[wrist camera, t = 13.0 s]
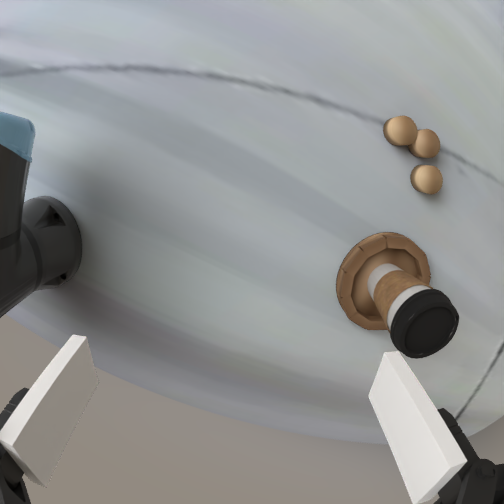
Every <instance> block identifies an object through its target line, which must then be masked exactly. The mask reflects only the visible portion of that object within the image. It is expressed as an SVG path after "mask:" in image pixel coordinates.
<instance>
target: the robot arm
mask: <svg viewBox="0 0 504 504" xmlns="http://www.w3.org/2000/svg"><path fill="white" fill-rule="evenodd" d="M34 138H35V128H34V125H33V123H32V122H31V121H30V120H28V119H25V118H22V117H18V116H15V115H11V114H8V113H4V112H0V318H1V317H2V316H3V315H4V314H6V313H7V312H8V311H9V310H11V309H12V308H13V307H14V306H16V305H17V304H18V303H19V302H21V301H22V300H23V299H25V298H26V297H27V296H28V295H30V294H31V293H32V292H34V291H37V290H43V289H49V288H55V287H58V286H60V285H62V284H64V283H65V282H67V281H68V280H69V279H71V278H72V277H73V276H74V274H75V273H76V271H77V269H78V267H79V264H80V261H81V255H82V244H81V237H80V232H79V229H78V226H77V224H76V222H75V219H74V218H73V216H72V214H71V213H70V211H69V210H68V209H67V208H66V207H65V206H64V205H63V204H62V203H61V202H60V201H58V200H56V199H54V198H52V197H48V196H41V197H36V198H33V199H30V200H28V201H26V202H24V197H25V190H26V184H27V178H28V172H29V167H30V162H32V157H31V154H32V148H33V143H34ZM98 384H99V380H98V377H97V374H96V370H95V367H94V363H93V359H92V356H91V352H90V348H89V344H88V340H87V337H84V336H79V335H72V336H71V337H70V339H69V340H68V341H67V342H66V344H65V345H64V346H63V347H62V348H61V350H60V351H59V352H58V353H57V355H56V356H55V357H54V358H53V360H52V361H51V362H50V364H49V365H48V366H47V368H46V369H45V370H44V371H43V372H42V374H41V375H40V376H39V378H38V379H37V380H36V382H35V383H34V385H33V386H32V387H31V388H30V389H27V388H23V389H22V390H20V391H19V392H17V393H16V394H15V395H14V396H13V398H12V399H11V400H10V402H9V404H7V406H6V407H5V408H4V410H3V411H2V413H1V414H0V504H31V502H30V499H29V496H28V493H27V489H26V486H25V483H24V481H23V479H22V476H23V474H24V473H25V475H26V476H27V477H28V478H29V479H30V480H31V481H33V482H35V483H37V484H39V485H41V486H43V487H47V485H48V483H49V481H50V479H51V476H52V474H53V472H54V470H55V468H56V465H57V463H58V461H59V459H60V457H61V455H62V453H63V451H64V449H65V447H66V445H67V443H68V441H69V439H70V437H71V435H72V433H73V431H74V429H75V427H76V425H77V423H78V421H79V419H80V417H81V415H82V414H83V412H84V410H85V408H86V406H87V404H88V402H89V400H90V399H91V397H92V395H93V393H94V391H95V389H96V388H97V386H98ZM368 397H369V400H370V402H371V404H372V406H373V409H374V411H375V413H376V415H377V418H378V420H379V422H380V425H381V427H382V429H383V432H384V434H385V436H386V439H387V441H388V443H389V446H390V448H391V451H392V453H393V455H394V458H395V460H396V463H397V465H398V468H399V470H400V473H401V475H402V478H403V480H404V483H405V485H406V488H407V490H408V493H409V495H410V498H411V501H412V503H413V504H421V503H424V502H426V501H429V500H431V499H432V498H433V497H434V496H435V495H436V494H437V493H438V494H439V497H440V498H439V499H438V500H437V501H436V502H435V503H434V504H504V464H499V465H495V464H494V463H493V462H492V461H489V460H487V459H480V458H479V457H478V456H477V454H476V452H475V451H474V449H473V447H472V446H471V445H470V442H469V441H468V439H467V438H466V436H465V434H464V433H462V430H461V428H460V426H458V423H457V422H456V420H455V419H454V417H453V416H452V415H451V414H450V413H449V412H448V411H446V410H445V409H444V408H442V409H438V410H437V409H436V407H435V406H434V404H433V403H432V401H431V400H430V398H429V396H428V395H427V393H426V392H425V390H424V389H423V387H422V386H421V384H420V383H419V381H418V379H417V378H416V376H415V375H414V373H413V372H412V370H411V369H410V367H409V366H408V364H407V363H406V361H405V360H404V359H403V357H402V356H401V354H400V353H399V351H395V352H384V355H383V357H382V360H381V363H380V366H379V369H378V372H377V374H376V377H375V380H374V382H373V385H372V388H371V390H370V393H369V395H368Z"/></svg>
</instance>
